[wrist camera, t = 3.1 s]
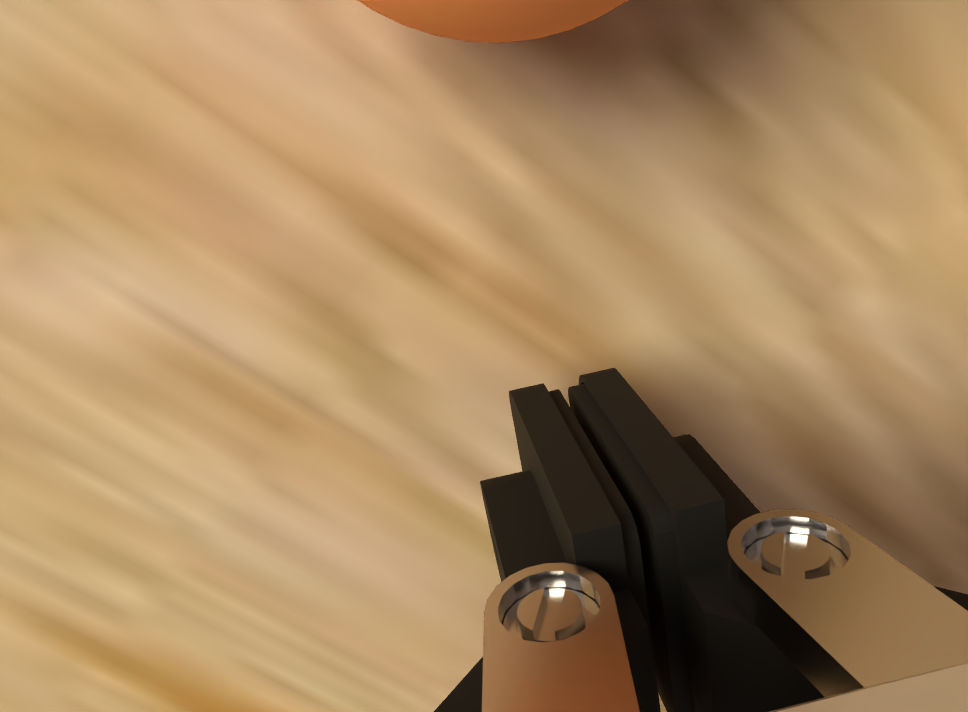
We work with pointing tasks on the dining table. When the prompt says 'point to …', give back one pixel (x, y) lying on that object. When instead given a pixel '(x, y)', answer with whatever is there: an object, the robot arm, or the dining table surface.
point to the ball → (492, 17)
